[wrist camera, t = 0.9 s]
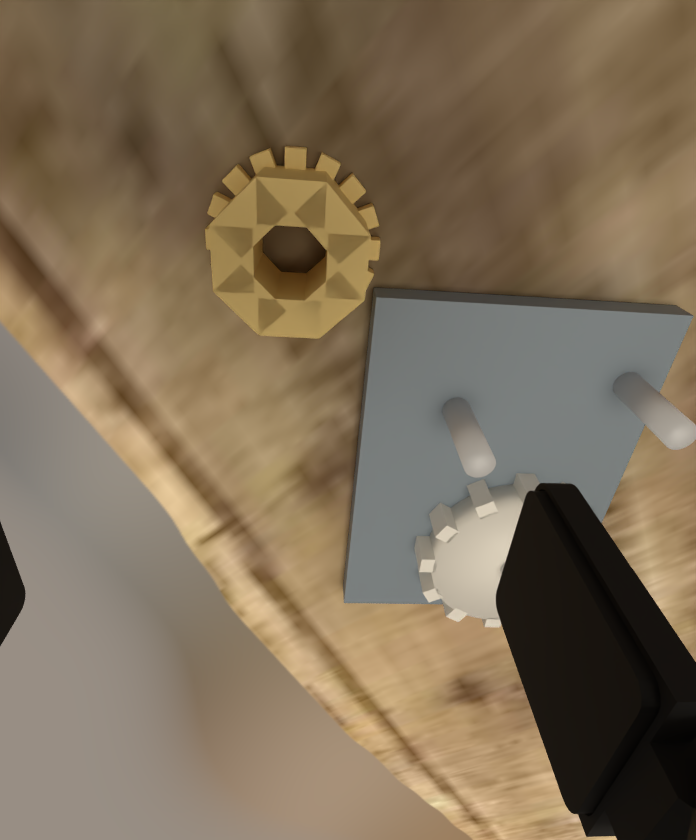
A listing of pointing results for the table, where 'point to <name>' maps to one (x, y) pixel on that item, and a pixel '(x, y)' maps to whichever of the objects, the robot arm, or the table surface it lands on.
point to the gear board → (493, 430)
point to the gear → (299, 207)
